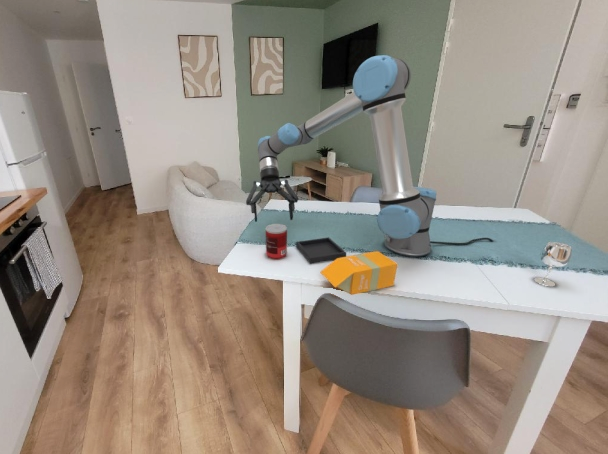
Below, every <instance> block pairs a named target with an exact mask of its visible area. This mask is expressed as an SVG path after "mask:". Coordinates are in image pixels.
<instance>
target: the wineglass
mask: <svg viewBox="0 0 608 454" xmlns="http://www.w3.org/2000/svg"><path fill="white" fill-rule="evenodd" d="M572 253H573V249H572V247H571V246H570V245H568V244H566V243H563V242H557V241H549V242H547V244H546V245H544V247H543V249H542V250H541V252H540V256H539V257H540V260H541V263H543V264H545V265H547V269H546V271H547V272H546V274H545V277H544V278H543V277H535V278H533V280H534V282H535V283H537V284H539V285H541V286H545V287H555V286H556V283H555V282H554V281H552V280H550V279H548V277H549V275H550V273H551V272H552V271H553V269H554V268H560V267H564V266H566V265H568V264H569V263H570V260H571V258H572Z"/></svg>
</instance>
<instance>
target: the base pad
mask: <svg viewBox="0 0 608 454" xmlns="http://www.w3.org/2000/svg"><path fill="white" fill-rule="evenodd" d="M295 248H296V249H297V250H298V251H299V252H300V253H301V255H302V257H304V258H305V259H306V261H307V262H308V263H309V264H310V265H311V264H318V263H324V262H333V261H334V260H336V259H337V258H342V257H347V251H345V250H344V249H343V248H342V247H341V246H339V245H338V244H337V243H336V242H335V241H334V240H333V239H331V238H330V237H329V236H328V237H320V238H315V239H313V238H312V239H306V240H301V241H300V240H299V241H296V242H295Z"/></svg>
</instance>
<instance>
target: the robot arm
mask: <svg viewBox="0 0 608 454" xmlns="http://www.w3.org/2000/svg"><path fill="white" fill-rule="evenodd" d="M411 79H412V72H411V68H410V66H409V64H408V63H407V62H406V61H405V60H403V59H401V58H397V57H392V56H390V55H386V54H382V55H381V54H380V55H375V56H371V57H369V58H367V59H366V60H364V61H363V62H362V63H361V64H360V65H359V66H358V68H357V69H356V71H355V72H354V75H353V80H352V90H353V92H351V93H349V94H347V95H346V96H345V97H342V98H341V99H339V101H336V102H335V103H333V104H331V105H330V106H328V107H327V108H325V109H323V110H322V111H320V112H318V113H317V114H316V115H314V116H312V117H311V118H310V119H307V120H306V121H305V122H303V123H302V124H300V125H297V126H296V125H295V124H292V123H291V122H288V123H287V122H286V123H285V124H284V125H283V126H280V128H278V129H277V131H275V133H273V134H272V135H266V136H264V137H261V138H259V140H258V142H257V152H258V162H259V172H260V173H259V175H260V182H257V181H256V180H254V181H253V183H252V187H251V190H250V192H249V193H248V196H247V198H246V200H245V201H246V202H245V205H246V206H250V211H251V214H254V222H255V223H257V222H258V213H257V212H258V211H257V203H258V202H259V200H261V198H262V196H264V195H265V193H266V194H271V193H272V194H275V193H277V194H278V195H280V196H281V197H282V198H284V200H286V201H287V202H288V212H289V220H290V221H293V219H294V212H295V209H296V207H295V204H296V203H298V201H299V196H298V195H297V194H296V193H295V191H294V190H293V188H292V187H291V186H290V184H289V180H288V179H284V180H283V181H281V180H280V172H279V163H278V156H279V155H280V154H281V153H283V152H284V151H285V150H287V149H289V148H293V147H298V146H301V145H307V144H309V143H311V142H312V141H314V139H315V138H317V137H319V136H321V135H323V134H324V133H327V132H328V131H329V130H332V129H333V128H335V127H337V126H339V125H340V124H343V123H344V122H346V121H348V120H349V119H352V118H353V117H356V116H357V115H359V114H360V113H362V112H363V114H365V115H367V116H368V117H369V121H370V126H371V127H370V128H371V132H372V137H373V143H374V151H375V156H376V162H377V168H378V173H379V178H380V184H381V190H382V192H381V194H380V195H379V196H378V204H379V210H380V211H379V212H378V213H377V217H376V223H377V226H378V229H379V230H380V231H381V232H382V233H383V234H384V235H385V236H384V238H385V239H384V245H383V246H384V247H385V249H386V250H388V251H389V252H391V253H392V254H395V255H397V256H403V257H408V258H423V257H427V256H428V255H430V254H431V252H432V244H437V245H455V246H464V245H469V244H471V243H474V242H477V241H478V242H479V241H484V240H485V241H486V240H487V241H490V242H494V240H493V239H492V238H490V237H480V238H479V237H478V238H474V239H471V240H468V241H466V242H452V241H451V242H449V241H448V242H447V241H434V240H433V241H432V240H431V237H430V227H431V224H432V223H431V222H432V218H433V214H434V210H435V209H434V208H435V204H436V201H437V191H436V190H434V189H432V188H427V187H421V186H414V184H413V177H412V172H411V171H412V170H411V165H410V158H409V152H408V145H407V137H406V132H405V131H406V130H405V125H404V119H403V111H402V106H403V104H404V103H405V101H406V100H407V97H406V90H407V89H408V87H409V85H410V82H411ZM281 186H282V187H283V188H285V190H286V191H285V190H284V189H283V188H282V187H281ZM259 187H260V188H261V189H260V190H259V191H258V193H257V194H256V195H255V193H256V191H257V189H258V188H259ZM254 195H255V196H254Z"/></svg>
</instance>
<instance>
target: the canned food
mask: <svg viewBox="0 0 608 454" xmlns="http://www.w3.org/2000/svg"><path fill="white" fill-rule="evenodd" d="M265 253H266V256H267V258H269V259H271V260H282V259H285V257H287V253H288V227H287V225H285V224H282V223H271V224H268V225H266V226H265Z"/></svg>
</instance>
